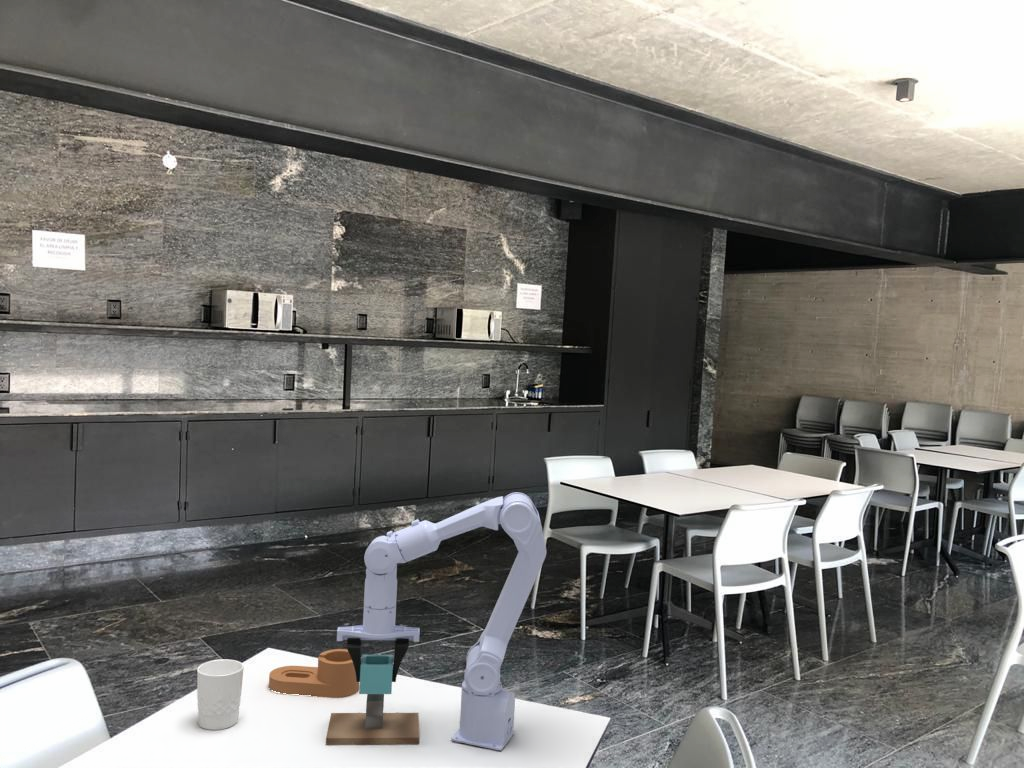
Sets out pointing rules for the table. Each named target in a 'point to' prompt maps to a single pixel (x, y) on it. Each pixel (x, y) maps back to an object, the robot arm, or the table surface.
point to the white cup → (219, 693)
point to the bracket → (318, 677)
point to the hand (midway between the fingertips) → (376, 679)
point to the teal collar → (376, 674)
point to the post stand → (373, 726)
